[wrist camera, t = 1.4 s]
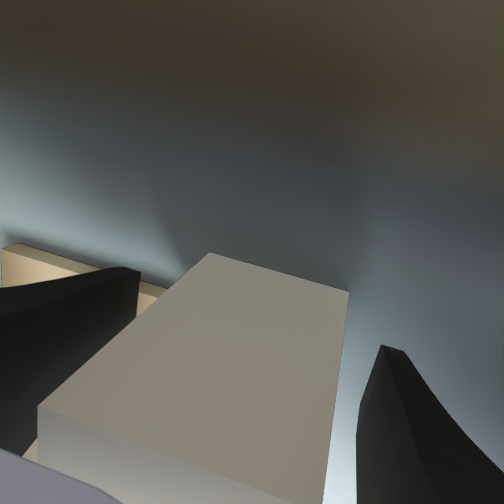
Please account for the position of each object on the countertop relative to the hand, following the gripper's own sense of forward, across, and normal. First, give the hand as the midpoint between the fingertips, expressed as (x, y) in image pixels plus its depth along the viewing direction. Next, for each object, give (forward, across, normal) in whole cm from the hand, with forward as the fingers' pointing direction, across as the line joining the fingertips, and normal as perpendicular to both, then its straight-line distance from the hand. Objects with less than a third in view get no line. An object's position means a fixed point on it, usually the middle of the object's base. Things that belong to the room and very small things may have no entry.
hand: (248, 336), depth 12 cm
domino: (+3, 0, 0) cm, 3 cm away
